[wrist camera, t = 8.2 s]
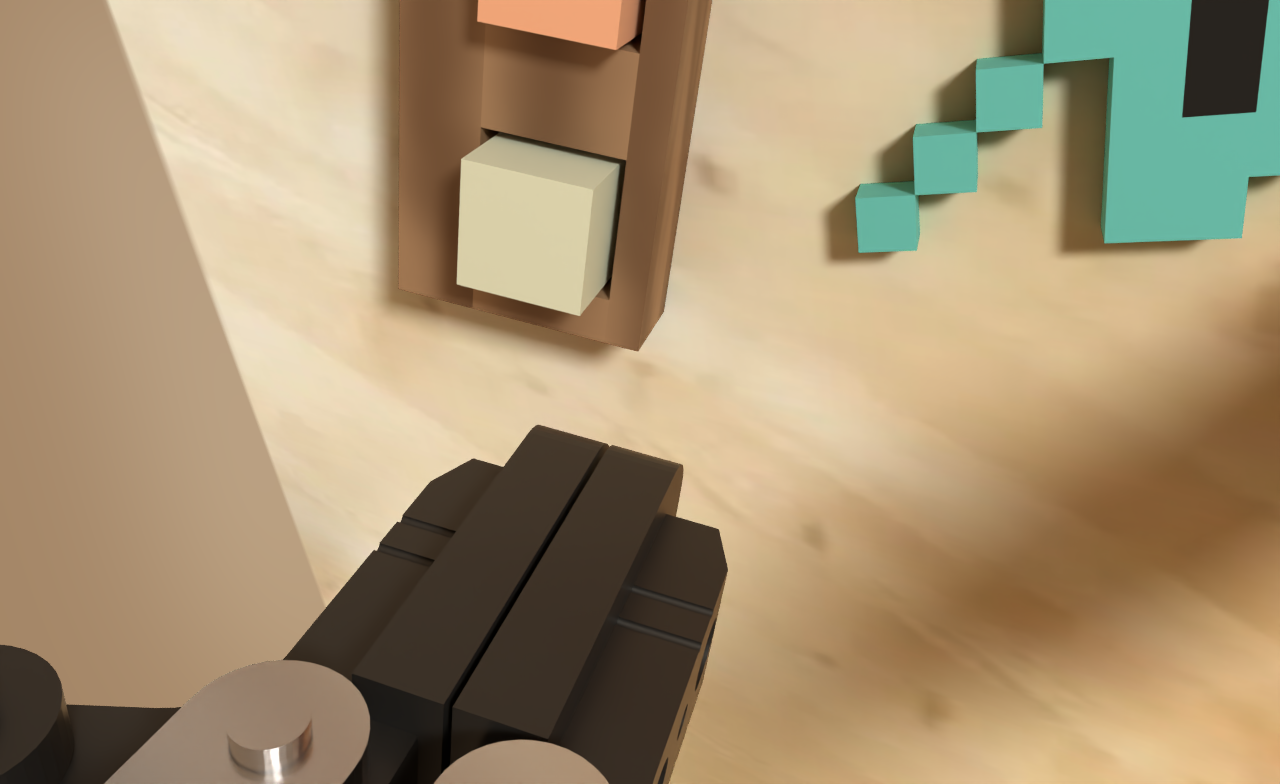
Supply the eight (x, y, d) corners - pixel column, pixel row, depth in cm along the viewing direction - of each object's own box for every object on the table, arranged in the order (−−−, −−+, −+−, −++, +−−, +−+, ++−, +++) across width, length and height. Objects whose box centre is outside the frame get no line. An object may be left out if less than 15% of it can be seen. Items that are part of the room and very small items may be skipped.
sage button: (626, 157, 41) (593, 189, 38) (611, 276, 44) (579, 315, 41) (503, 129, 42) (461, 158, 39) (497, 247, 45) (456, 284, 42)
